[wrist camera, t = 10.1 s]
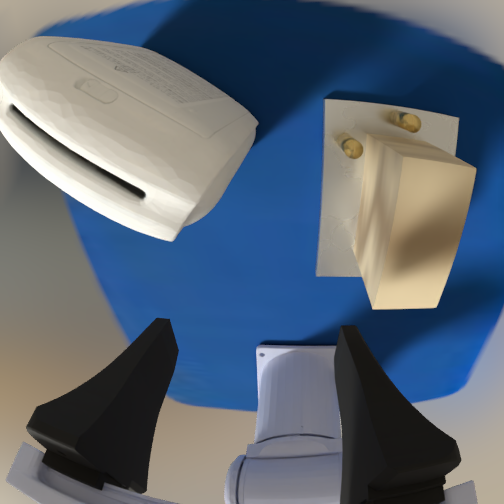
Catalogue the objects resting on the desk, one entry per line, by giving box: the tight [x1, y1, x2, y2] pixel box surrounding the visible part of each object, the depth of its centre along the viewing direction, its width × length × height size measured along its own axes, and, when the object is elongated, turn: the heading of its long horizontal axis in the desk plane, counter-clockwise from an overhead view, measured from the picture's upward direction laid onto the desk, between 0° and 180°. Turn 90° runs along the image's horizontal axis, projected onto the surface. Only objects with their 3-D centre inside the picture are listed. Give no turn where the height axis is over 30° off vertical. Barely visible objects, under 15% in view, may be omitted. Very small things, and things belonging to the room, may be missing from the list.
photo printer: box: [0, 36, 259, 241], centre depth 12 cm, size 10×4×12 cm, turn 54°
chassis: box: [315, 99, 459, 277], centre depth 17 cm, size 12×9×3 cm
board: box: [353, 134, 477, 309], centre depth 15 cm, size 8×4×6 cm, turn 2°
